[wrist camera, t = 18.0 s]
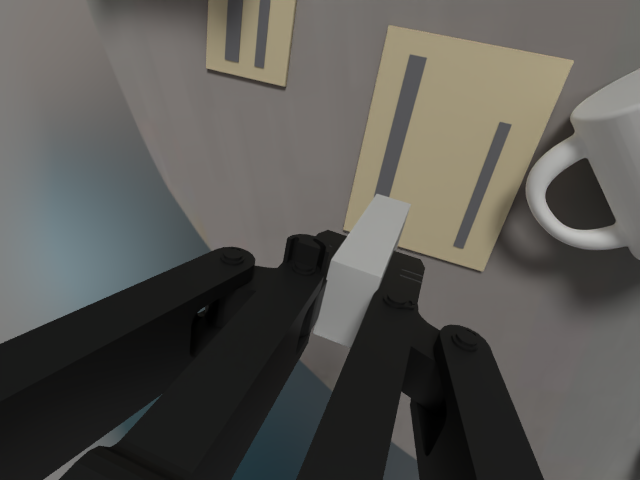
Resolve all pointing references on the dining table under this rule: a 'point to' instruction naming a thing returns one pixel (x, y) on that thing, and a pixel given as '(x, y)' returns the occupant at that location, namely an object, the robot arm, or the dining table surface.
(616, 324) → the dining table surface
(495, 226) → the label card
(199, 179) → the dining table surface
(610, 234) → the mug
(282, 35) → the label card
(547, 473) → the dining table surface
